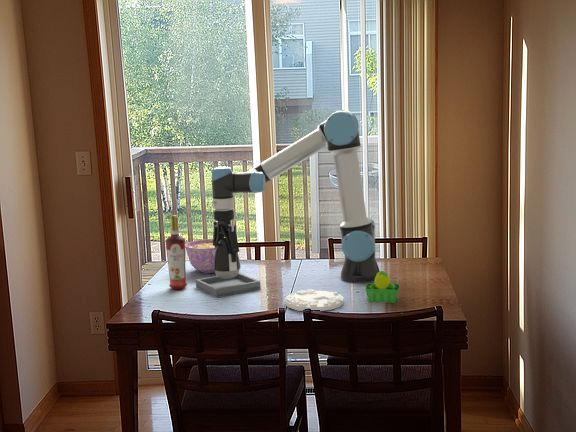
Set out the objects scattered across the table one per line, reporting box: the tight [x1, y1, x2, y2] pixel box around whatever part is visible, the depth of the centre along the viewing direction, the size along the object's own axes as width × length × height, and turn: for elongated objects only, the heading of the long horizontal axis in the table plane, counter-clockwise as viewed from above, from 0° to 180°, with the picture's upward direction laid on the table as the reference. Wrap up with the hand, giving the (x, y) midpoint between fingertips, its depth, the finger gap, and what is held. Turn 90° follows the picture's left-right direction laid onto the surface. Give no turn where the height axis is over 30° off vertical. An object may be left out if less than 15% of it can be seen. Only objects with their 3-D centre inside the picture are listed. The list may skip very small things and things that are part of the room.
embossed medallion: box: [284, 288, 344, 312], centre depth 249 cm, size 20×20×3 cm
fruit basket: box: [364, 270, 401, 304], centre depth 248 cm, size 11×9×11 cm
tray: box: [195, 272, 261, 298], centre depth 274 cm, size 18×18×3 cm
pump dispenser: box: [213, 237, 242, 279], centre depth 272 cm, size 10×10×15 cm
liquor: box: [164, 214, 188, 291], centre depth 275 cm, size 7×7×28 cm
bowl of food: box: [185, 238, 216, 274], centre depth 302 cm, size 20×20×12 cm
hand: (226, 267), depth 273 cm, fingers closed on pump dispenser, 10 cm apart
